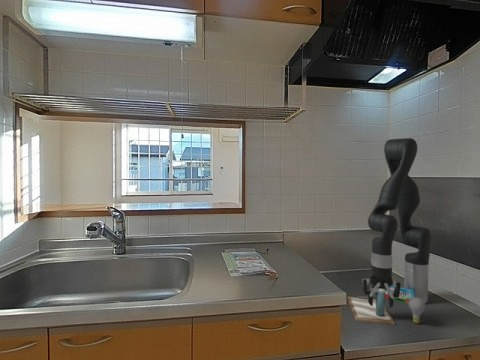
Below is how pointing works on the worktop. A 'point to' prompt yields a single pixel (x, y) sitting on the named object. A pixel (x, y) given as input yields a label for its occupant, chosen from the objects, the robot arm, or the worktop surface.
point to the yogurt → (401, 294)
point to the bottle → (380, 302)
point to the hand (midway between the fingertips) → (380, 305)
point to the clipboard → (368, 311)
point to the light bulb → (416, 308)
